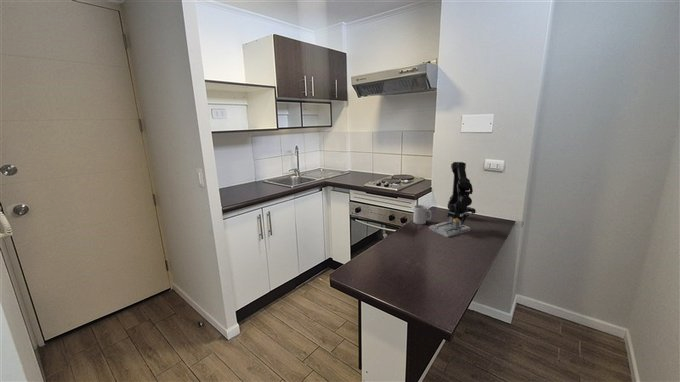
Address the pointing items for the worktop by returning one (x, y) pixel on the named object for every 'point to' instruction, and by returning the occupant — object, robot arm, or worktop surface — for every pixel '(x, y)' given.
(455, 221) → the orange fader
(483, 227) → the worktop surface
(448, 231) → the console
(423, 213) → the mug
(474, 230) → the worktop surface
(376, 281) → the worktop surface
